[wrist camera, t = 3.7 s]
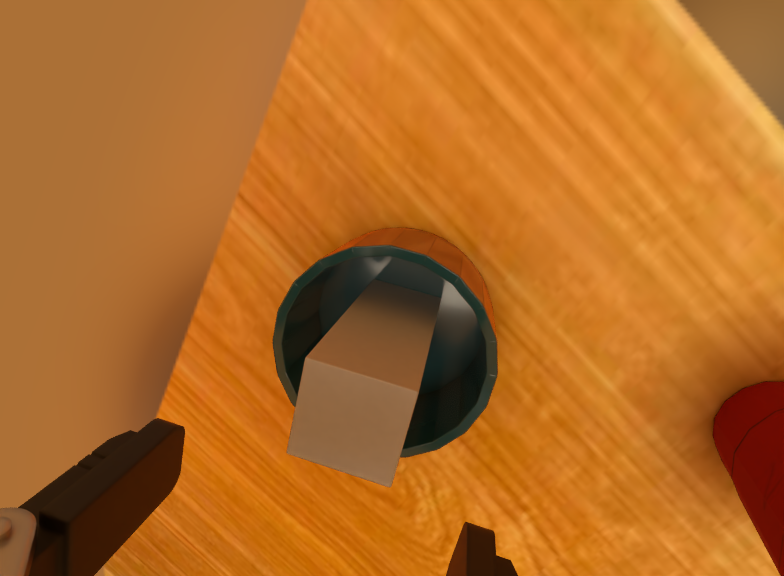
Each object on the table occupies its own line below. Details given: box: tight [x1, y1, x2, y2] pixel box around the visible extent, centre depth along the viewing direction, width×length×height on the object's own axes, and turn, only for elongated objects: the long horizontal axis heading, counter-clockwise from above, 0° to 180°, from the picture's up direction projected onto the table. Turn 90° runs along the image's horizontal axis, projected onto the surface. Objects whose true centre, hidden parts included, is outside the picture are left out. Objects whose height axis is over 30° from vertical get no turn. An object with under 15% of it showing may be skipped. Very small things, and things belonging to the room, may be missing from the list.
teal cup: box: [273, 227, 498, 457], centre depth 24 cm, size 11×11×6 cm
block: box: [287, 279, 441, 487], centre depth 21 cm, size 4×4×11 cm
